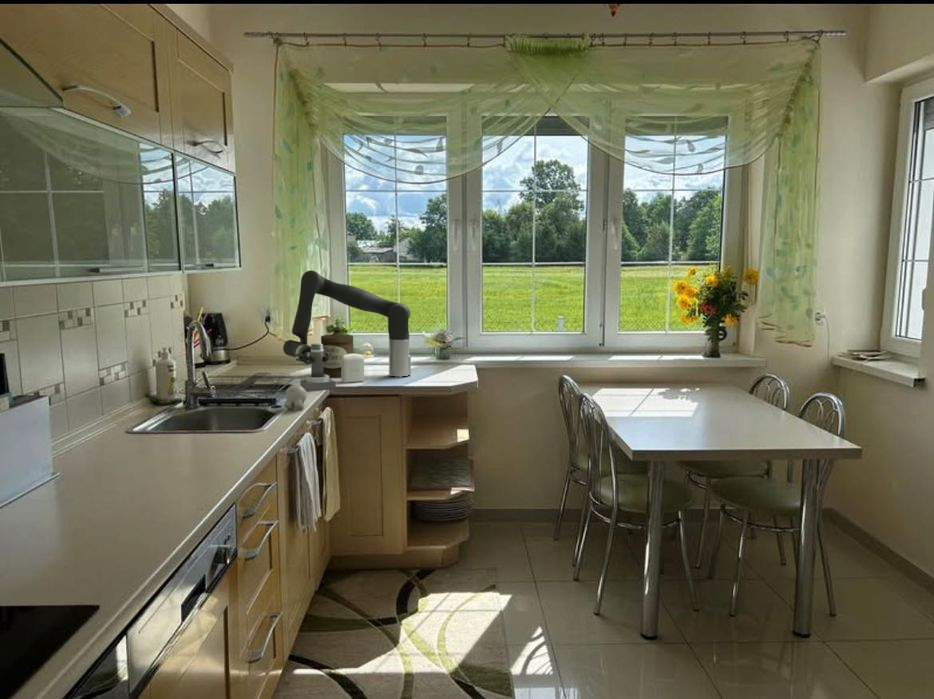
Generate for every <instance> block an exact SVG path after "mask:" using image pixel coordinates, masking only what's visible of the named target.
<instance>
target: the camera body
mask: <svg viewBox="0 0 934 699" xmlns="http://www.w3.org/2000/svg"><path fill="white" fill-rule="evenodd" d="M305 377H306V378H303V377H302V378H301V379H300V380H299V386H301V387H303V388H304V389H305V391H306V392H313V391H314V392H315V391H324V390H336V388H337V387H336V380H334V379H331V378H330V377H329V375H324V374H323V377H320V378H313V377H311V374H309V375H306V376H305Z"/></svg>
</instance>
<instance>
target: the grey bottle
mask: <svg viewBox="0 0 934 699" xmlns="http://www.w3.org/2000/svg"><path fill="white" fill-rule="evenodd" d="M310 346H311V357H313V358H314V363H311V364H310V368H311V369H310V370H311V371H310V372H311V373H310V375H311V377H313V378H320V377H323V344H321V342H320V343H318V342H317V343H316V342H314V343H311V344H310Z"/></svg>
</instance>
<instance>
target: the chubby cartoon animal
mask: <svg viewBox="0 0 934 699" xmlns="http://www.w3.org/2000/svg"><path fill="white" fill-rule="evenodd" d="M284 395H285V396H284V397H285V402H284V404H283V407H284V408H286V409H287V410H290V411H291V410H295V408H296V410H299V411H302V410H304V408H305V406H304V404H305V401H306V399H307V391H306V390H305V389H304V388H303V387H301V386H300V384H299V385H298V384H295V385H291V386H289V387H288V388H287V389H286V391H285V394H284Z"/></svg>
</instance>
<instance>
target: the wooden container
mask: <svg viewBox="0 0 934 699" xmlns="http://www.w3.org/2000/svg"><path fill="white" fill-rule="evenodd" d="M332 331H333V333H331V334H324V335H321V336H320V343H321V344H323V354H324V353H326V352H327V353H328V354H329V356H328V359H329V360H328V361H327V362H324V361H323V374H324V375H329V378H336V379H337V378H339V377H340V378H341V359H342V356H344V355H347V354H355V353H354V352H355V351H354V335H352V334H346V333H345V334H342V333H341V331H342V329H341V328H340V327H337V326H336V327H334V328H333V329H332Z"/></svg>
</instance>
